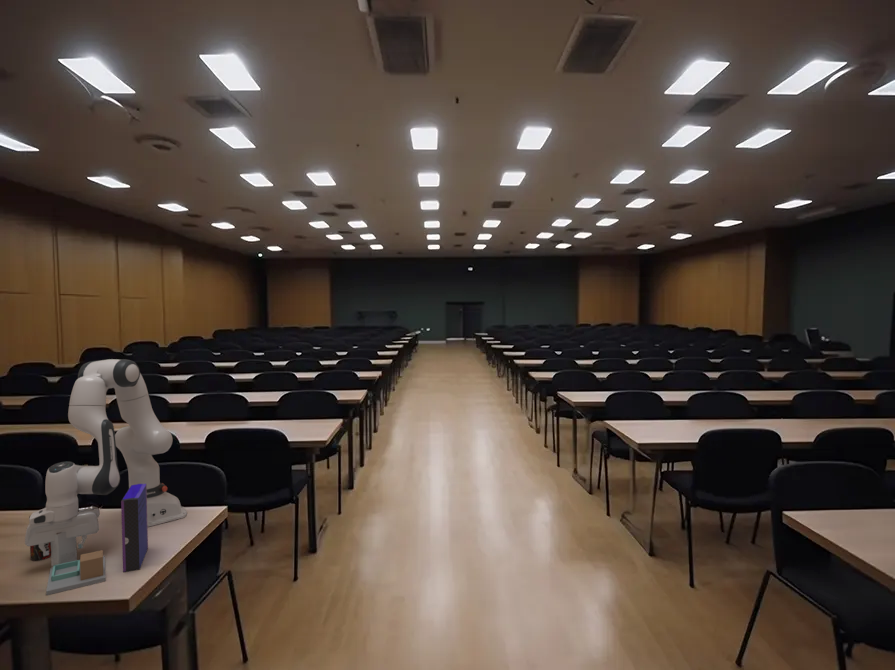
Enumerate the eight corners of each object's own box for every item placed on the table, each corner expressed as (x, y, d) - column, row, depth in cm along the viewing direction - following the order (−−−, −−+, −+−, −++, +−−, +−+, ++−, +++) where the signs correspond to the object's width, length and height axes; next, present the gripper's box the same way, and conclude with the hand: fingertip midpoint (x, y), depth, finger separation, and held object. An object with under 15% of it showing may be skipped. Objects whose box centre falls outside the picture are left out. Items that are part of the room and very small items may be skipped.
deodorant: (39, 553, 187) (38, 511, 186) (56, 553, 186) (54, 511, 186) (26, 560, 181) (24, 518, 180) (42, 561, 180) (41, 518, 180)
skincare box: (69, 559, 181) (68, 525, 181) (78, 561, 180) (76, 527, 179) (50, 567, 176) (49, 532, 175) (58, 570, 174) (57, 534, 174)
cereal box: (132, 550, 188) (131, 484, 187) (148, 548, 190) (146, 483, 189) (123, 572, 172) (121, 500, 171) (139, 569, 174) (137, 498, 173)
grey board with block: (104, 559, 181) (104, 539, 181) (105, 581, 166) (104, 558, 166) (50, 571, 173) (49, 550, 173) (46, 595, 158) (45, 571, 158)
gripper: (99, 502, 185) (100, 540, 186) (25, 514, 174) (27, 555, 174) (99, 507, 180) (100, 547, 181) (23, 521, 169) (24, 563, 169)
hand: (63, 551), depth 177 cm, fingers open, 8 cm apart
